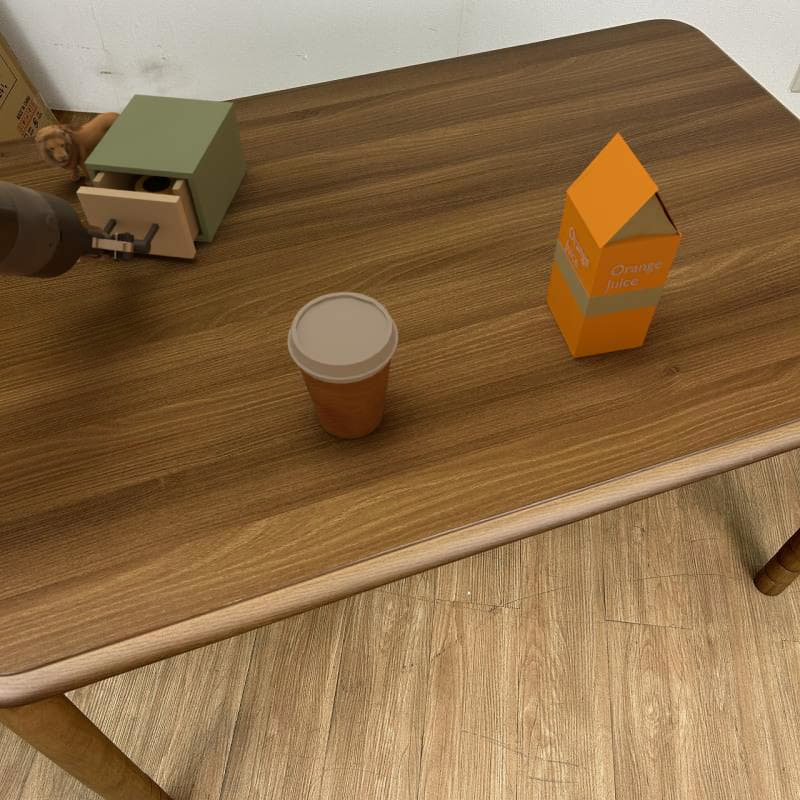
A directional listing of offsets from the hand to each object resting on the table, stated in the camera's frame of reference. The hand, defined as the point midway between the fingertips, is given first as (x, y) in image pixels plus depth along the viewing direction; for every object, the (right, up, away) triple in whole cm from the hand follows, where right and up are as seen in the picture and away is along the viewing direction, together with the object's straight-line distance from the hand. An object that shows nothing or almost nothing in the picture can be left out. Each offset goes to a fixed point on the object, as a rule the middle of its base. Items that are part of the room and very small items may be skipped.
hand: (117, 249), depth 79 cm
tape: (+2, +6, +9) cm, 11 cm away
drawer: (+2, +4, +9) cm, 10 cm away
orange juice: (+51, -8, 0) cm, 51 cm away
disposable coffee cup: (+25, -18, -7) cm, 32 cm away
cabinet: (+3, +9, +14) cm, 17 cm away
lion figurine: (-9, +13, +18) cm, 24 cm away
